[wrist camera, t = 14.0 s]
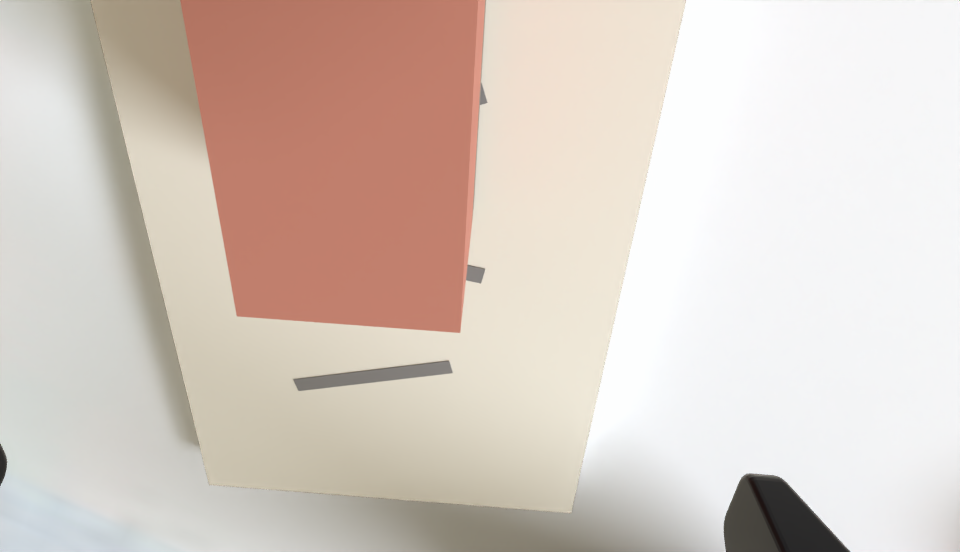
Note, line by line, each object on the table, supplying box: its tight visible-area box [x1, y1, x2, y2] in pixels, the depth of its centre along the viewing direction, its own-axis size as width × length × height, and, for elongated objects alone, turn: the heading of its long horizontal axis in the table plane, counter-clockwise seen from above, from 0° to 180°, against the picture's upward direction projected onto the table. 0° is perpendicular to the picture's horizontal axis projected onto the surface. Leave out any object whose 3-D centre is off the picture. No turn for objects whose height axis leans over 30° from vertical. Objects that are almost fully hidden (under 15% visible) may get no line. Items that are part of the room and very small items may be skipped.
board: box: [90, 0, 686, 513], centre depth 20 cm, size 20×13×1 cm, turn 176°
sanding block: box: [180, 0, 486, 333], centre depth 14 cm, size 8×4×5 cm, turn 177°
